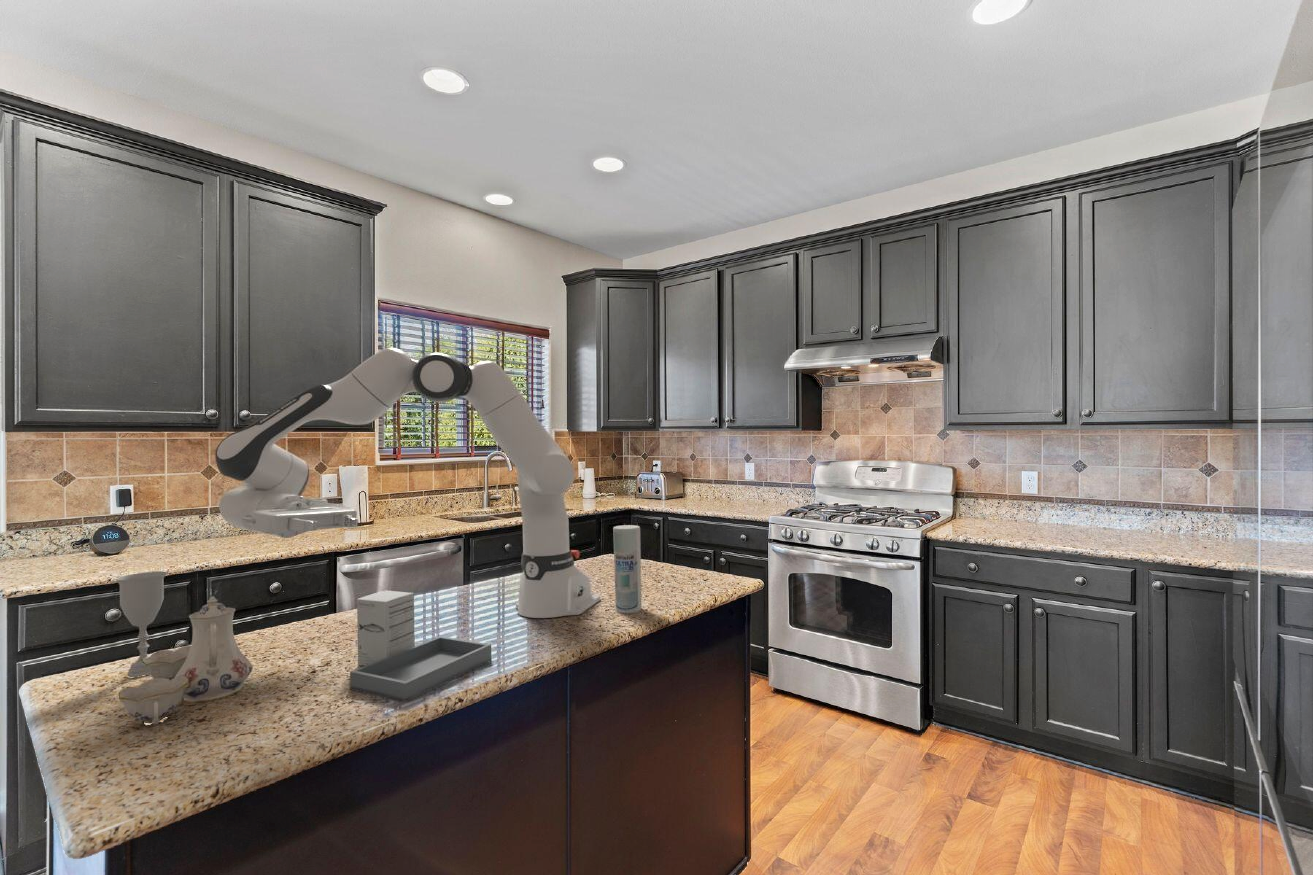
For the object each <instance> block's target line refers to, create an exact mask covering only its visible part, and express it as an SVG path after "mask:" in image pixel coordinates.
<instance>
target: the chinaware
mask: <svg viewBox="0 0 1313 875" xmlns="http://www.w3.org/2000/svg"><path fill="white" fill-rule="evenodd" d="M218 601H219V600H218V599H217V598H216V597H215V596H214V595H213V596H210V597H209V599H208V600H207V601H206V603H207V604H204V605H203V606H202V607H201V608H200V609H199V611H197V612H194V613H191V614H189V615H188V617H189V619H190V622H191V626H192V639H191V644H190V645H184V646H181V647H179V648H177V649H175V650H173V649H172V650H171V649H163V650H158V651H155V652H153V653H152V654H151V655H150V656H149V657H148V658H143V659H141V660H140V661H141V663H143V664H145V665H146V666H147V668H148V671H149V673H150V675H149V676H151V679H148V680H145V681H144V682H142V683H140V684H139V685H138V686H127V687H125V688H122V689H121V690H120V691H119V692H118V700H119V701H120V702H122V704H123V707H124V708H125V710H126V712H127V713H128V714H129V716H131V718H134V719H135V720H139V721H144V722H145V723H152V724H154V725H158V724H160V723H159V721H160V720H162V719H163V718H165V717H166V716H168V715H169V714H171V713H172V712H173V711H174V710H176V708H178V706H179V705H180V703H181V701H182V700H183V699H185V700H186V701H185V702H187V701H204V702H209V701H214V699H215V700H218V699H223V698H226V697H228V696H229V697H230V696H231V695H234V694H236V693H238V692H239V691H241V690H242V689H244V687H245V685H244V681H246V679H247V678H248V677H249V676H250V674H251V673H252V671H253V668H254V667H253V664H252V662H251V661H250V660H249V658H247V657H246V655H244V654H243V652H242V651H241V650H240V648H239V646H238V643H237V640H236V638H235V635H234V630H233V628H234V627H233V619H234V614H235V612H236V610H237V609H236V608H234V607H226V606H225V604H223V603H222V602H218ZM208 700H209V701H208Z"/></svg>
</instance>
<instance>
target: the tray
mask: <svg viewBox="0 0 1313 875" xmlns="http://www.w3.org/2000/svg"><path fill="white" fill-rule="evenodd" d="M489 661H490V662H491V661H493V660H492V644H489V643H483V642H477V641H471V640H465V639H460V638H459V639H458V638H452V637H446V636H437V637H435V638H433V639H430V640H426V641H425V642H423V643H419V644H417V645H415V646H414V647H412V648H409V649H407V650H404V651H402V652H399V653H396V654H394V655H391V656H389V657H386V658H384V659H381V660H379V661H376V662H374V663H371V664H368V665H366V666H364V665H362V666H361V667H358V668H356V669H354V670H352V671H349V675H350V676H349V681H350V682H349V684H350V685H349V688H350V689H349V690H350V691H354V692H355V691H356V692H360V693H364V694H367V695H372V696H377V697H381V698H386V699H390V700H395V701H399V702H403V703H408V702H409V701H411V700H413V699H416V698H417V697H420V696H422V695H423V694H426V693H428V692H430V691H432V690H434V689H436V688H438V687H441V686H442V685H444V684H446V683H448V681H449V682H450V680H451V681H452V680H455V679H456V678H455V677H457V678H458V677H460V675H461V676H463V675H464V674H467V673H468V672H471V671H473V670H475V669H477V668H479V667H481V666H484V665H485V664H487V663H490V662H489ZM478 666H479V667H478ZM472 669H473V670H472ZM466 672H467V673H466ZM454 678H455V679H454Z"/></svg>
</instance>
